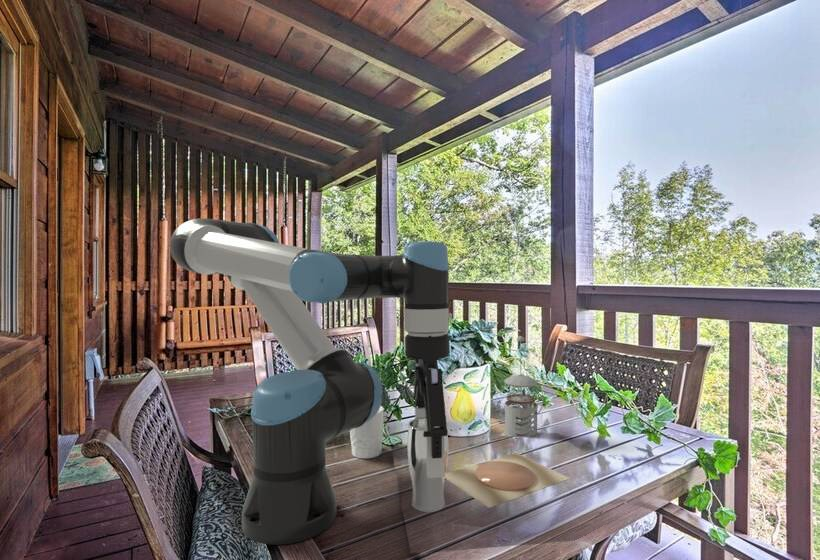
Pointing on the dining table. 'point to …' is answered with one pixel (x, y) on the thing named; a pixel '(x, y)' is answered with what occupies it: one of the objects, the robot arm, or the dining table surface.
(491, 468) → the coaster
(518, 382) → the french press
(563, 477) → the beige mat with oval
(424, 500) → the beer glass
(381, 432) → the white cup
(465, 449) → the dining table surface
